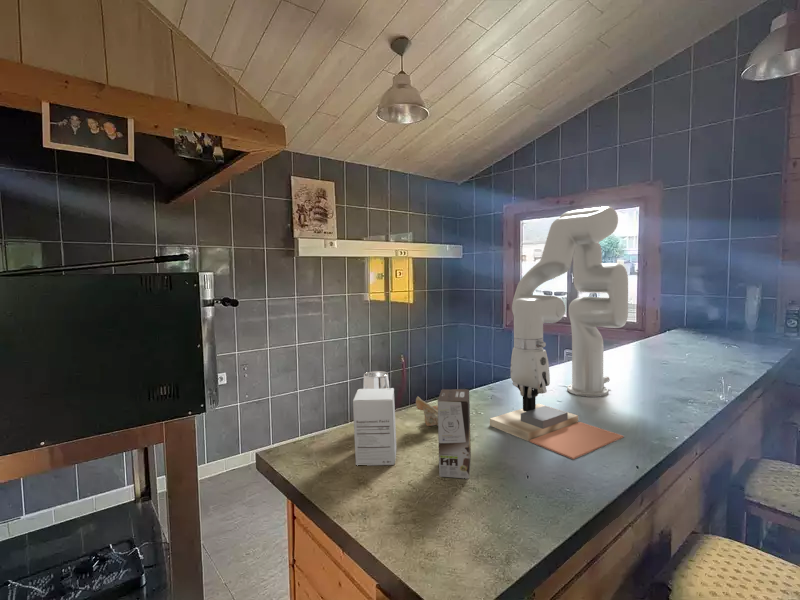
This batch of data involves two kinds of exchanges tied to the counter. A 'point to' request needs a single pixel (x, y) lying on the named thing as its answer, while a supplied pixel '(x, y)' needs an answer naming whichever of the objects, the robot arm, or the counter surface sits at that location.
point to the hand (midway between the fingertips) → (529, 410)
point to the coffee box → (454, 433)
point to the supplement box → (374, 426)
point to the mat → (576, 439)
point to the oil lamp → (428, 412)
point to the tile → (544, 417)
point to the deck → (524, 430)
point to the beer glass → (376, 380)
